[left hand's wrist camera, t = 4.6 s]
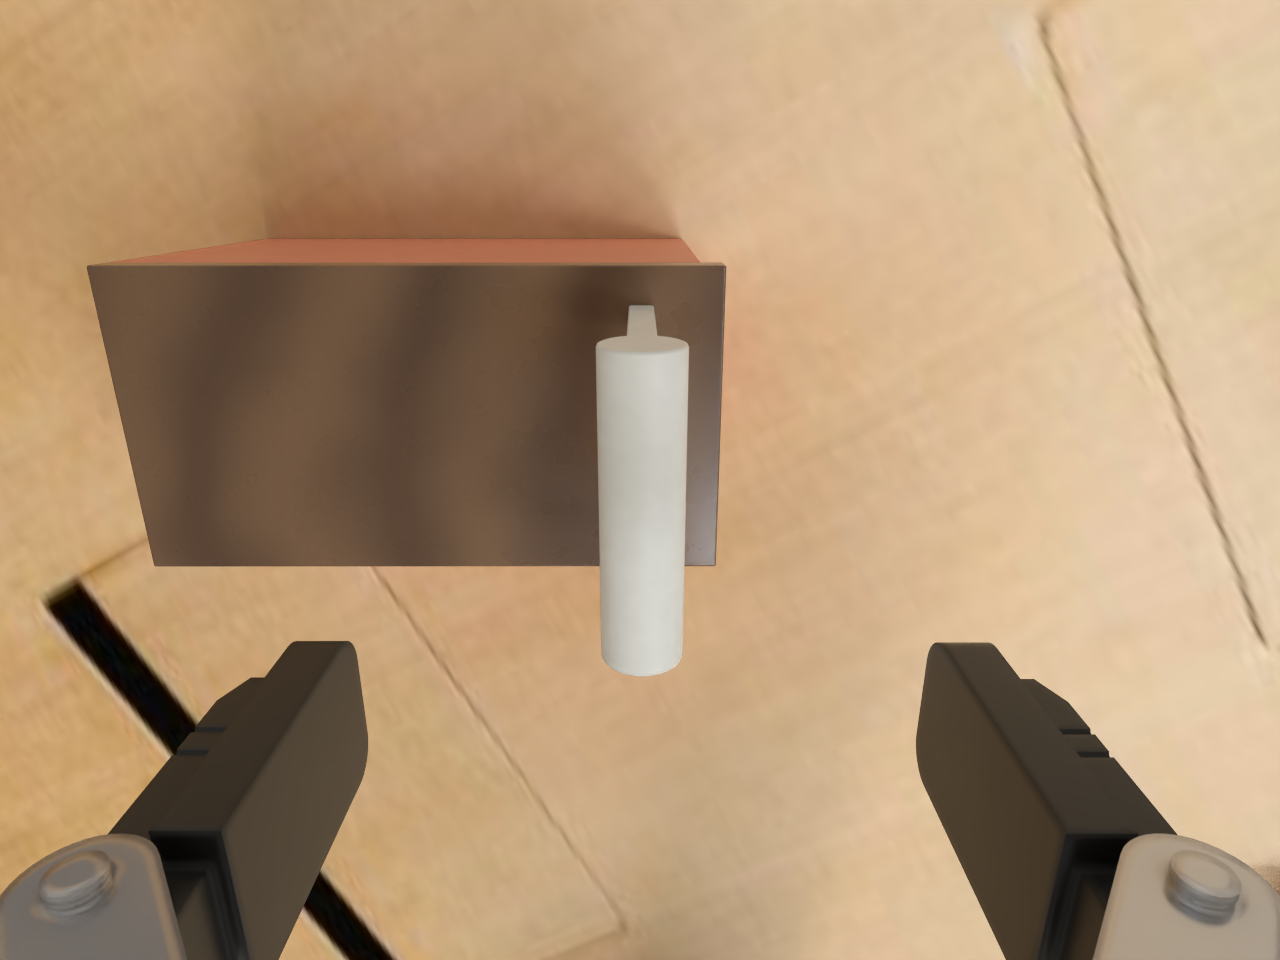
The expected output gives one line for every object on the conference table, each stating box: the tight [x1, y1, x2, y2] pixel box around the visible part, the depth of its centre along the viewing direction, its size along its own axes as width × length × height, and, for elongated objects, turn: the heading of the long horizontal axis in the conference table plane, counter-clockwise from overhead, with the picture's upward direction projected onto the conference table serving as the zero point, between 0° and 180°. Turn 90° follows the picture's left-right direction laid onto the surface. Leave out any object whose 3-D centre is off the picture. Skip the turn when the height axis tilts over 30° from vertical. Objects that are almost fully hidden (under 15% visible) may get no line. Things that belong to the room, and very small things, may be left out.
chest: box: [111, 239, 700, 263], centre depth 30 cm, size 17×9×11 cm, turn 90°
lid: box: [87, 263, 726, 676], centre depth 21 cm, size 18×9×8 cm, turn 90°
